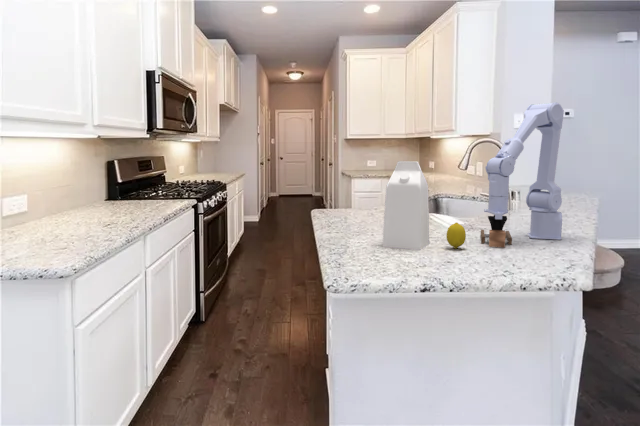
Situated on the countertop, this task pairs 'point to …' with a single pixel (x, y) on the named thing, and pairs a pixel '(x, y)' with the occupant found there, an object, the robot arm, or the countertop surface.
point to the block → (497, 238)
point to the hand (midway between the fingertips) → (496, 238)
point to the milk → (406, 208)
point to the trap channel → (508, 237)
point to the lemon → (456, 235)
